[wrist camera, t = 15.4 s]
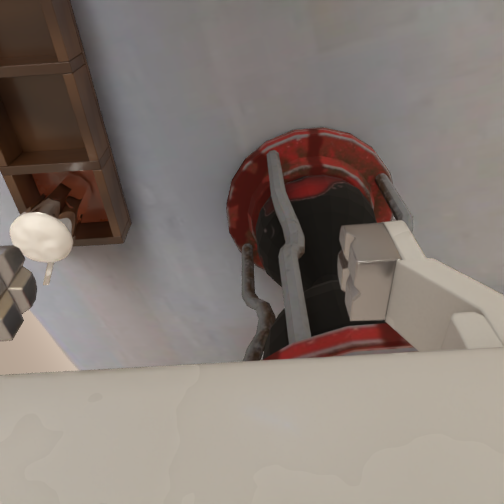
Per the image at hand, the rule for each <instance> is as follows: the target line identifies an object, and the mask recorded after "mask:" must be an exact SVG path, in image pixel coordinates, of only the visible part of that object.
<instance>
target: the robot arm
mask: <svg viewBox="0 0 504 504" xmlns="http://www.w3.org/2000/svg"><path fill="white" fill-rule="evenodd" d="M339 241H340V244H341V247H342V250H341V251H340V252H339V253H338V262H337V268H338V279H339V284H340V287H341V290H342V291H344V292H345V305H346V308H347V312H348V315H349V318H350V321H370V320H385V322H386V323H388V324H389V325H390V326H391V327H392V328H393V329H394V330H395V331H396V332H398V333H399V334H400V335H401V336H402V337H403V338H404V339H405V340H407V341H408V342H409V343H410V344H411V345H412V346H413V347H414V348H415V349H417V350H418V351H419V352H403V353H385V354H367V355H351V356H333V357H315V358H296V359H278V360H260V361H242V362H223V363H205V364H187V365H169V366H152V367H134V368H117V369H99V370H81V371H64V372H45V373H28V374H9V375H0V504H504V295H502V294H501V293H499V292H497V291H495V290H493V289H491V288H489V287H487V286H485V285H483V284H481V283H479V282H478V281H476V280H474V279H472V278H470V277H468V276H466V275H464V274H462V273H460V272H458V271H457V270H455V269H453V268H451V267H449V266H447V265H445V264H443V263H441V262H439V261H437V260H435V259H434V258H426V256H425V255H424V253H423V251H422V250H421V248H420V246H419V245H418V243H417V241H416V240H415V238H414V236H413V235H412V233H411V231H410V230H409V228H408V226H407V225H406V223H405V222H404V221H402V220H398V221H388V222H380V223H368V224H356V225H344V226H341V228H340V234H339ZM24 261H25V257H24V256H23V254H22V252H21V250H20V248H18V247H16V246H14V245H9V246H0V341H11V340H13V338H14V336H15V335H16V333H17V331H18V330H19V328H20V326H21V325H22V323H23V321H24V320H23V317H22V315H21V314H23V313H24V312H26V311H27V310H29V309H30V308H31V307H32V305H33V303H34V302H35V300H36V293H37V286H36V280H35V278H34V276H33V274H32V272H31V271H29V270H28V269H26V268H25V267H23V263H24Z"/></svg>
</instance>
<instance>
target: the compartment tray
mask: <svg viewBox="0 0 504 504" xmlns="http://www.w3.org/2000/svg"><path fill="white" fill-rule="evenodd" d="M0 171H1V173H2V175H3V178H4V180H5V182H6V184H7V187H8V189H9V191H10V193H11V195H12V197H13V200H14V202H15V204H16V206H17V208H18V211H19V213H20V215H21V214H22V213H23V212H24V211H25V210H26V209H28V208H29V207H30V206H31V205H32V204H33V203H34V202H35V201H36V200H37V199H38V198H39V197H40V196H41V195H42V194H43V193H44V192H45V191H46V190H47V189H48V188H49V187H50V186H51V185H52V184H53V183H54V182H55V181H56V180H57V179H58V178H59V177H62V176H64V175H67V174H73V175H78V176H81V177H82V178H83V179H85V180H86V181H87V182H88V183H89V184H90V187H91V190H92V193H93V194H92V197H91V199H90V202H89V204H88V206H87V209H86V211H85V214H84V216H83V218H82V221H81V223H80V226H79V229H78V232H77V235H76V238H75V241H74V244H73V246H89V245H106V244H123V243H124V241H125V239H126V236H127V234H128V231H129V228H130V226H131V220H130V216H129V213H128V209H127V205H126V202H125V198H124V195H123V191H122V187H121V184H120V180H119V176H118V173H117V169H116V166H115V162H114V158H113V155H112V151H111V147H110V144H109V140H108V137H107V133H106V129H105V126H104V122H103V118H102V115H101V111H100V108H99V104H98V100H97V97H96V93H95V89H94V86H93V82H92V78H91V75H90V71H89V68H88V64H87V60H86V57H85V53H84V49H83V46H82V42H81V39H80V35H79V31H78V28H77V24H76V20H75V17H74V13H73V10H72V6H71V2H70V0H0Z"/></svg>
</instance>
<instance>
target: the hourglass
mask: <svg viewBox="0 0 504 504" xmlns="http://www.w3.org/2000/svg"><path fill="white" fill-rule="evenodd" d="M226 212H227V219H228V226H229V233H230V234H231V236H232V238H233V240H234V242H235V243H236V245H237V247H238V249H239V251H240V252H241V253H242V297H243V300H244V301H245V303H246V305H247V306H248V307H250V308H252V309H254V310H256V312H257V315H258V318H259V319H258V326H257V332H256V335H255V337H254V338H253V340H252V341H251V343H250V345H249V346H248V348H247V350H246V353H245V356H244V360H243V361H260V360H261V357H262V354H263V351H264V355H263V360H278V359H296V358H315V357H333V356H351V355H367V354H385V353H403V352H419V351H418V350H417V349H415V348H414V347H413V346H412V345H411V344H410V343H409V342H408V341H407V340H405V339H404V338H403V337H402V336H401V335H400V334H399V333H398V332H396V331H395V330H394V329H393V328H392V327H391V326H390V325H389V324H388V323H386V322H385V320H370V321H350V318H349V315H348V312H347V308H346V305H345V292H344V291H342V290H341V287H340V284H339V279H338V268H337V262H338V253H339V252H340V251H341V250H342V247H341V244H340V241H339V234H340V228H341V226H344V225H356V224H368V223H380V222H388V221H392V219H393V215H394V217H395V218H396V220H397V221H398V220H402V221H404V222H405V223H406V225H407V226H408V228H409V230H410V231H411V233H412V231H413V216H412V215H411V213H410V211H409V210H408V208H407V207H406V205H405V203H404V202H403V200H402V199H401V197H400V195H399V194H398V192H397V191H396V189H395V188H394V186H393V182H392V178H391V174H390V172H389V170H388V169H387V168H386V166H385V165H384V163H383V162H382V160H381V159H380V158H379V156H378V155H377V154H376V152H375V151H374V150H373V148H372V147H371V146H369V145H368V144H366V143H364V142H363V141H361V140H360V139H358V138H356V137H355V136H353V135H352V134H350V133H346V132H342V131H337V130H333V129H329V128H324V127H319V128H308V129H297V130H292V131H290V132H287V133H285V134H282V135H280V136H277V137H275V138H273V139H270V140H268V141H266V142H265V143H264V144H262V145H261V146H260V147H259V148H258V149H256V150H255V151H254V152H253V153H252V154H250V155H249V156H248V157H247V158H246V159H245V160H244V162H243V163H242V165H241V166H240V168H239V170H238V171H237V173H236V174H235V176H234V178H233V179H232V182H231V186H230V191H229V195H228V200H227V207H226ZM254 264H255V265H256V266H258V267H260V268H262V269H264V270H266V272H267V274H268V275H269V276H270V277H271V278H272V279H273V280H274V281H275V282H277V283H278V284H279V285H280V286H281V287H282V290H283V298H284V306H285V308H284V309H283V310H282V312H281V313H280V314H279V315H278V317H277V319H276V318H275V314H274V312H273V310H272V308H271V306H270V304H269V303H268V302H266V301H263V300H261V299H259V298H258V296H257V295H256V294H255V287H254Z"/></svg>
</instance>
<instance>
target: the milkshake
mask: <svg viewBox="0 0 504 504" xmlns="http://www.w3.org/2000/svg"><path fill="white" fill-rule="evenodd" d="M92 194H93V193H92V190H91V187H90V184H89V183H88V182H87V181H86V180H85V179H83V178H82V177H81V176H78V175H73V174H67V175H64V176H62V177H59V178H58V179H57V180H56V181H55V182H54V183H53V184H52V185H51V186H50V187H49V188H48V189H47V190H46V191H45V192H44V193H43V194H42V195H41V196H40V197H39V198H38V199H37V200H36V201H35V202H34V203H33V204H32V205H31V206H30V207H29V208H28V209H26V210H25V211H24V212H23V213H22V214H21V215H20V216H19V217H18V218H17V219H15V220H14V222H13V223H12V225H11V227H10V237H11V240H12V243H13V245H14V246H16V247H18V248H20V250H21V252H22V254H24V255H25V256H26V257H28V258H29V259H31V260H34V261H39V262H48V265H47V269H46V274H45V278H44V282H43V285H49V282H50V278H51V273H52V269H53V264H54V262H56V261H60V260H62V259H64V258H65V257H66V256H67V255H68V254H69V253H70V251H71V249H72V246H73V244H74V241H75V238H76V235H77V232H78V229H79V226H80V223H81V221H82V218H83V216H84V214H85V211H86V209H87V206H88V204H89V202H90V199H91V197H92Z"/></svg>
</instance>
